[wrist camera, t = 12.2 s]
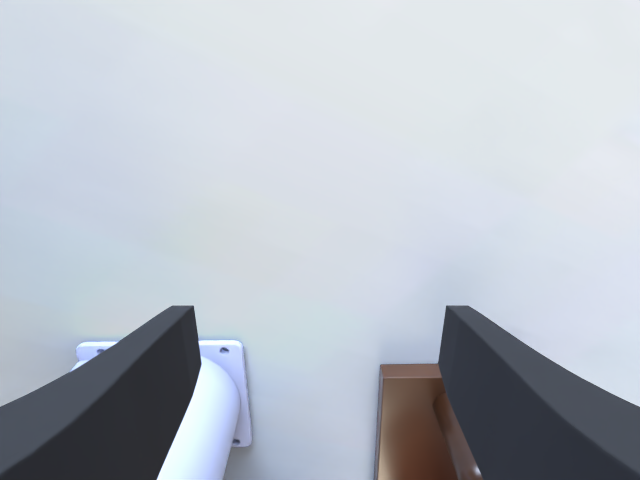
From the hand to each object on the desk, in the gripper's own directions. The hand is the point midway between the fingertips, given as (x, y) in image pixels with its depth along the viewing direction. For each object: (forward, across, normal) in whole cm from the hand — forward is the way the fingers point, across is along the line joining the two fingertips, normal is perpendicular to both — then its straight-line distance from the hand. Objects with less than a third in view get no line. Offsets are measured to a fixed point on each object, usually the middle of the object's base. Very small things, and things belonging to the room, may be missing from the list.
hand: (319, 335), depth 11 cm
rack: (+9, -8, +16) cm, 20 cm away
